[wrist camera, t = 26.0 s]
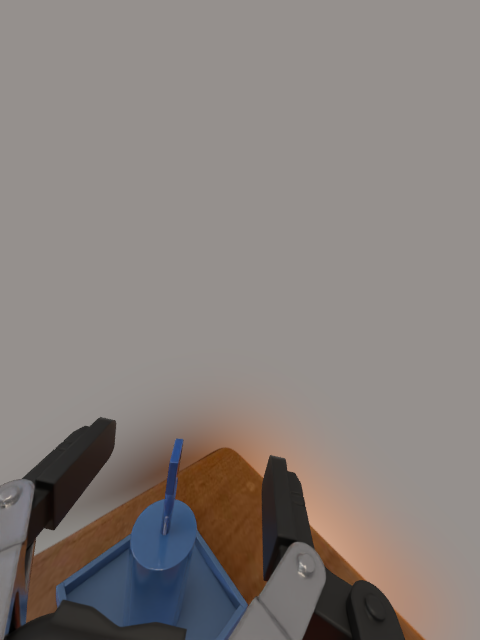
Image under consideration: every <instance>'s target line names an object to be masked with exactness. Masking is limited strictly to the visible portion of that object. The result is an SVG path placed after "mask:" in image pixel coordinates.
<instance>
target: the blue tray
mask: <svg viewBox="0 0 480 640" xmlns="http://www.w3.org/2000/svg"><path fill="white" fill-rule="evenodd" d="M130 539H131V534H130V535H128V536H127V537H125V538H124V539H123V540H121V541H120V542H118V543H117V544H115V545H114V546H113V547H111V548H110V549H108V550H107V551H106V552H104V553H103V554H101V555H100V556H98V557H97V558H96V559H94V560H93V561H91V562H90V563H89V564H87V565H86V566H84V567H83V568H81V569H80V570H79V571H77V572H76V573H74V574H73V575H72V576H70V577H69V578H67V579H66V580H65V581H63V582H62V583H60V584H59V585H57V586H56V602H57V607H59V605H60V603H61V601H62V600H68V601H72V602H76V603H80V604H84V605H88V606H93V607H94V608H95V609H97V610H98V611H99V612H101V613H102V614H103V615H104V616H106V617H107V618H108V619H109V620H111V621H112V622H113V623H115V624H116V625H117V626H120V627H123V608H124V598H125V588H126V579H127V569H128V559H129V549H130ZM247 606H248V604H247V603H246V601H245V600H244V598H243V597H242V595H241V594H240V592H239V591H238V589H237V588H236V587H235V585H234V584H233V582H232V581H231V579H230V578H229V576H228V575H227V573H226V572H225V570H224V569H223V567H222V566H221V564H220V563H219V561H218V560H217V558H216V557H215V556H214V554H213V553H212V551H211V550H210V548H209V547H208V545H207V544H206V542H205V541H204V539H203V538H202V536H201V535H200V533H199V532H198V530H197V533H196V539H195V544H194V550H193V555H192V560H191V565H190V570H189V575H188V581H187V586H186V591H185V596H184V601H183V606H182V612H181V615H180V619H179V622H178V624H177V626H176V627H180V628H185V629H187V632H186V638H185V640H228V639H229V637H230V635H231V634H232V632H233V631H234V629H235V627H236V626H237V624H238V623H239V621H240V619H241V618H242V616H243V615H244V613H245V611H246V609H247Z"/></svg>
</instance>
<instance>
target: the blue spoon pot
mask: <svg viewBox="0 0 480 640" xmlns="http://www.w3.org/2000/svg"><path fill="white" fill-rule="evenodd" d="M182 446H183V439H176V440H175V444H174V448H173V452H172V455H171V459H170V464H169V471H168V478H167V485H166V492H165V499H163V500H160V501H157V502H155V503H153V504H151V505H150V506H148V507H147V508H146V509H145V510H144V511H143V512H142V513H141V514H140V516H139V517H138V518H137V520H136V522H135V524H134V526H133V529H132V533H131V539H130V549H129V559H128V569H127V579H126V588H125V598H124V608H123V627H125V626H132V625H138V624H145V623H151V622H160V623H164V624H168V625H172V626H177V624H178V622H179V619H180V615H181V612H182V606H183V601H184V596H185V591H186V586H187V581H188V575H189V570H190V565H191V560H192V555H193V550H194V544H195V539H196V533H197V524H196V519H195V516H194V514H193V512H192V510H191V509H190V508H189V507H188V506H187V505H186V504H185V503H183V502H182V501H179V500H176V499H175V495H176V488H177V482H178V477H177V476H178V471H179V465H180V459H181V453H182Z"/></svg>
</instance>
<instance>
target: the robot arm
mask: <svg viewBox="0 0 480 640" xmlns="http://www.w3.org/2000/svg"><path fill="white" fill-rule="evenodd" d="M115 432H116V421H115V420H111V419H106V418H102V417H100V418H98V419H97V420H96V421H95V422H94V423H93V424H92V425H91V426H90V427H88V426H84V427H82V428H80V429H78V430H76V431H74V432H73V433H72V434H70V435H69V436H68V437H67V438H66V439H65V440H64V442H62V443H61V444H59V445H58V447H56V449H55V450H53V451H52V452H51V453H50V454H49V455H47V456H46V457H45V458H44V459H43V460H42V461H41V462H40V463H39V464H38V465H36V467H34V468H33V469H32V470H31V471H30V472H29V473H28V474H27V475H26V476H25V477H23V478H22V479H19V480H13V481H11V482H8V483H5V484H3V485H1V486H0V640H185V638H186V632H187V629H185V628H180V627H176V626H172V625H168V624H164V623H160V622H151V623H145V624H138V625H132V626H125V627H120V626H117V625H116V624H115V623H113V622H112V621H111V620H109V619H108V618H107V617H106V616H104V615H103V614H102V613H101V612H99V611H98V610H97V609H95V608H94V607H93V606H88V605H84V604H80V603H76V602H72V601H68V600H62V601H61V603H60V605H59V607H58V608H57V610H56V612H55V613H51V614H47V615H44V616H41V617H39V618H36V619H34V620H32V621H30V622H28V623H26V612H27V599H28V591H29V584H30V577H31V571H32V564H33V557H34V549H35V543H36V537H37V536H38V535H39V533H40V532H41V531H42V530H43V528H46V529H50V530H55V528H56V527H57V526H58V525H59V523H60V522H61V521H62V519H63V518H64V517H65V515H66V514H67V513H68V511H69V510H70V509H71V508H72V506H73V505H74V504H75V502H76V501H77V500H78V498H79V497H80V496H81V495H82V493H83V492H84V491H85V489H86V488H87V487H88V485H89V484H90V483H91V481H92V480H93V478H94V477H95V476H96V475H97V474H98V472H99V471H100V470H101V468H102V467H103V466H104V464H105V463H106V462H107V460H108V459H109V457H110V456H111V454H112V451H113V449H114V445H115ZM262 530H263V577H264V581H268V582H267V584H266V585H265V587H264V589H263V590H262V592H261V593H260V595H259V596H258V597H257V596H256V597H255V598H254V599H253V601H252V602H251V603H250V605H249V607H248V608H247V610H246V611H245V613H244V615H243V616H242V618H241V619H240V621H239V623H238V624H237V626H236V627H235V629H234V631H233V632H232V634H231V635H230V637H229V639H228V640H405V638H404V635H403V632H402V630H401V627H400V624H399V621H398V619H397V616H396V613H395V611H394V609H393V607H392V605H391V604H390V602H389V600H388V599H387V598H386V596H385V595H384V594H383V593H382V592H381V591H380V590H379V589H378V588H377V587H376V586H374V585H373V584H371V583H370V582H367V581H364V580H359V581H356V582H355V583H354V584H353V586H352V585H350V584H348V583H347V582H345V581H344V580H342V579H340V578H339V577H337V576H336V575H334V574H333V573H331V572H330V571H329V570H328V569H327V568H326V567H325V566H324V564H323V562H322V560H321V558H320V556H319V555H318V554H317V552H316V551H315V549H314V545H313V541H312V536H311V531H310V526H309V521H308V516H307V511H306V507H305V501H304V497H303V492H302V487H301V483H300V481H299V479H298V478H297V476H296V474H295V473H293V472H289V471H287V465H286V460H285V458H281V457H276V456H272V455H270V457H269V460H268V464H267V467H266V471H265V475H264V478H263V484H262Z"/></svg>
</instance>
